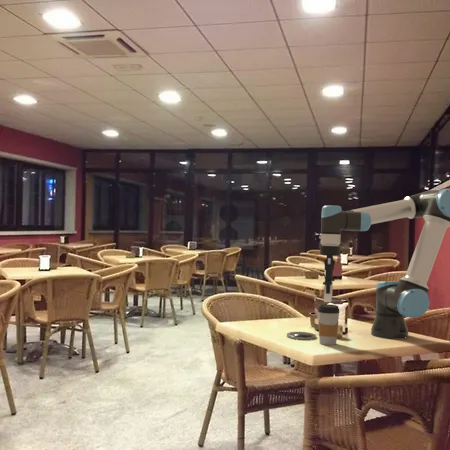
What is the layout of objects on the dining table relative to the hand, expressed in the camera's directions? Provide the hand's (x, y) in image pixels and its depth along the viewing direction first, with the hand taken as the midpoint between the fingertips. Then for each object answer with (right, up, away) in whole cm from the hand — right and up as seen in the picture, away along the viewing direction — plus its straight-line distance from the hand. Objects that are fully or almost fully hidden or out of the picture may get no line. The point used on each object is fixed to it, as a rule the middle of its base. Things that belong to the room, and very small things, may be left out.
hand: (328, 299), depth 205 cm
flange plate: (-9, -17, +12) cm, 23 cm away
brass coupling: (+6, -18, +13) cm, 23 cm away
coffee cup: (0, -18, 0) cm, 18 cm away
